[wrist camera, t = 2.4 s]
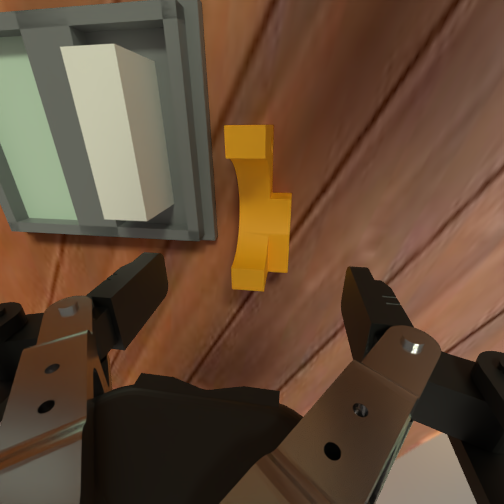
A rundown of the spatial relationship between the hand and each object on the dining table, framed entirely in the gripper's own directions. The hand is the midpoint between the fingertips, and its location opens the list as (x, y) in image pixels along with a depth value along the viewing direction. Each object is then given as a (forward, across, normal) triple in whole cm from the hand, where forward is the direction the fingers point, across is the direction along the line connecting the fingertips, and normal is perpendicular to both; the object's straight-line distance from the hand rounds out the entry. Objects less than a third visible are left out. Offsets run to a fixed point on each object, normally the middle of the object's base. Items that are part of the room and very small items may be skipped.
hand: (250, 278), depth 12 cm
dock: (+14, +17, -5) cm, 22 cm away
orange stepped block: (+15, +1, 0) cm, 15 cm away
